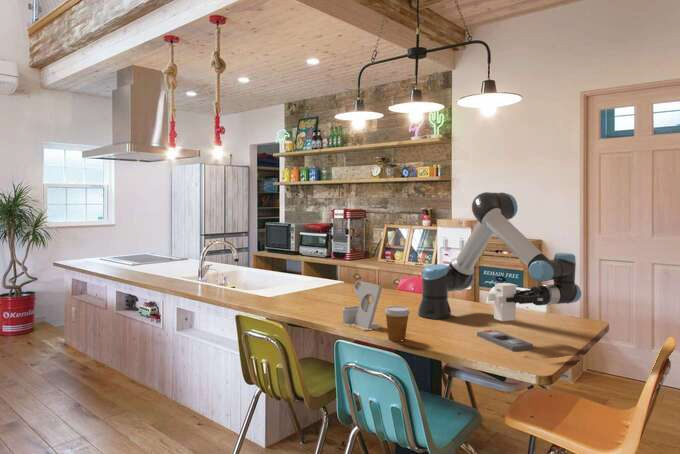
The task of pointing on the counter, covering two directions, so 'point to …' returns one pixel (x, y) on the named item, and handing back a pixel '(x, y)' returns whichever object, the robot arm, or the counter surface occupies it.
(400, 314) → the disposable coffee cup
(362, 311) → the phone holder
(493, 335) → the power strip
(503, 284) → the block
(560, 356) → the counter surface
